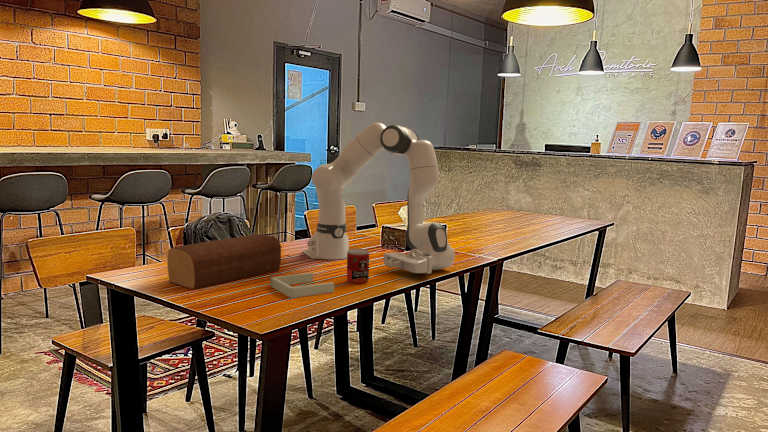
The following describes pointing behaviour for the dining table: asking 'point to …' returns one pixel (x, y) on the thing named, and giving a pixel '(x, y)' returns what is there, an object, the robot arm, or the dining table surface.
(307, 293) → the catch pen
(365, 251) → the canned food
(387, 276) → the dining table surface
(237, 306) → the dining table surface
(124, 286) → the dining table surface
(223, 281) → the bread
